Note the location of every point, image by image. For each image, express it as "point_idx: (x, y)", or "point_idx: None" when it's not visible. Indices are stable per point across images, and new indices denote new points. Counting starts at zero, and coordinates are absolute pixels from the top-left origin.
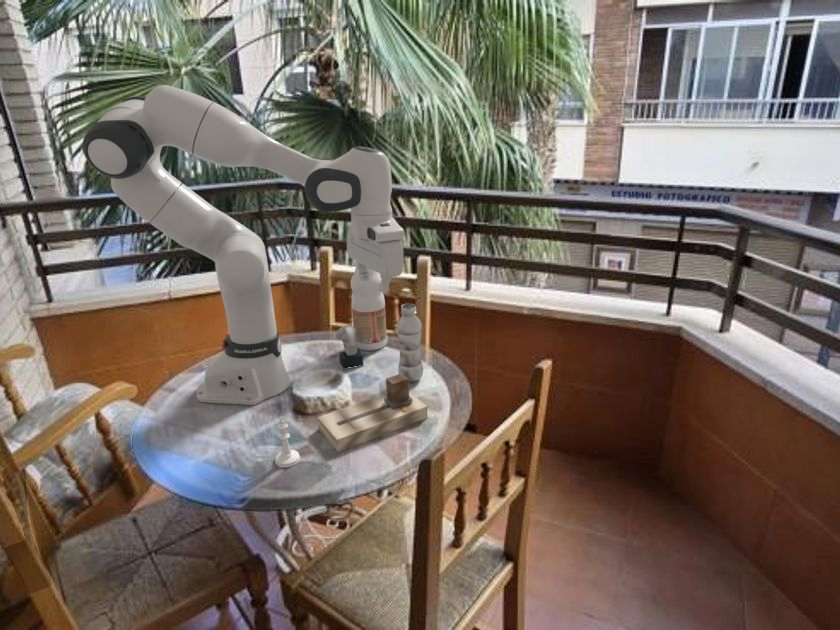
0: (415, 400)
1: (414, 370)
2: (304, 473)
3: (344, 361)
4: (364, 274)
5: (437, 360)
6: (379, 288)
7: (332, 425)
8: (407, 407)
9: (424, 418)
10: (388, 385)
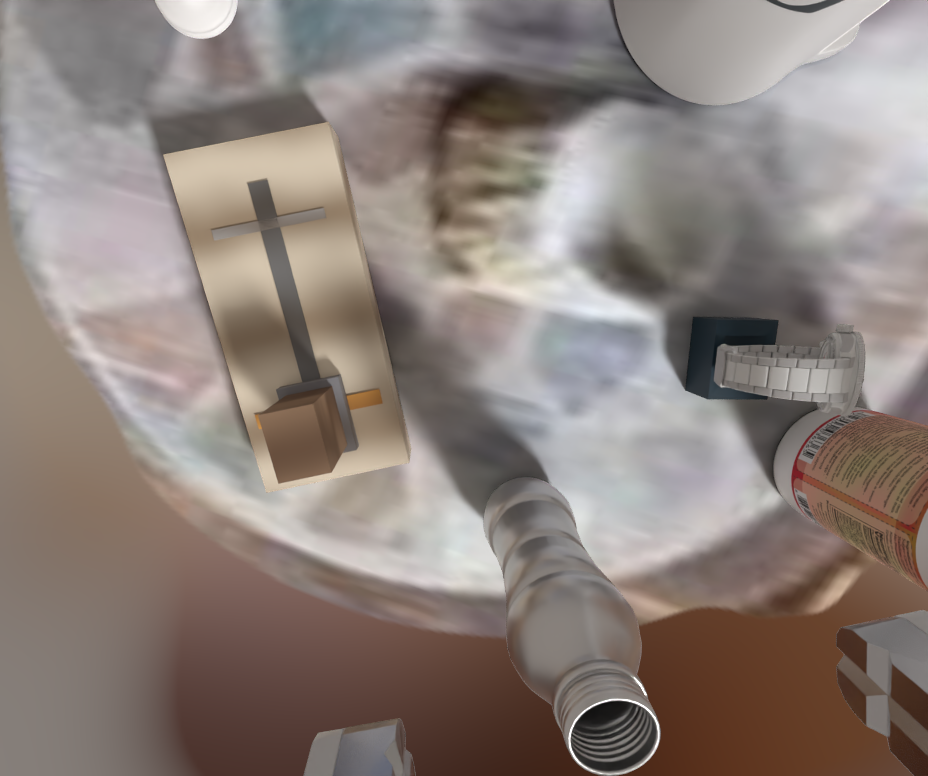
0: None
1: (487, 531)
2: (108, 34)
3: (709, 325)
4: (922, 723)
5: None
6: (374, 748)
7: (256, 161)
8: None
9: None
10: (302, 402)
